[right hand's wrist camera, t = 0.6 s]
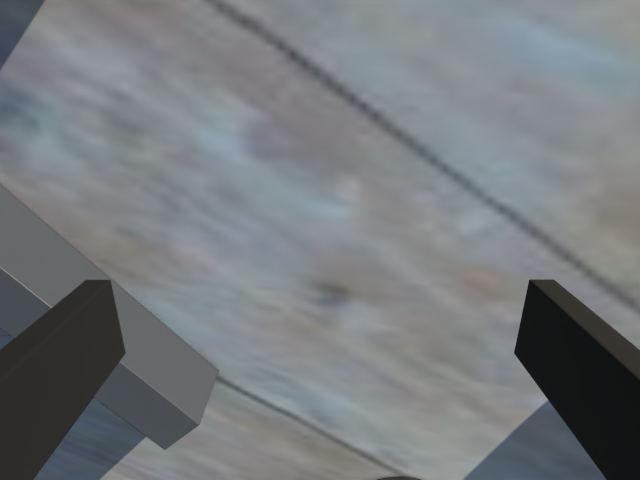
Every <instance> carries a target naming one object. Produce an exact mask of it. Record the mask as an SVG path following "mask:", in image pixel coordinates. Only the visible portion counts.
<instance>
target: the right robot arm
mask: <svg viewBox="0 0 640 480" xmlns="http://www.w3.org/2000/svg"><path fill="white" fill-rule="evenodd" d="M125 353H126V352H125V347H124V342H123V337H122V332H121V328H120V323H119V318H118V313H117V308H116V303H115V299H114V294H113V289H112V284H111V280H85V281H84V282H83V283H82V284H80V285H79V286H78V287H77V288H75V289H74V290H73V291H72V292H71V293H69V294H68V295H67V296H66V297H64V298H63V299H62V300H61V301H60V302H58V303H57V304H56V305H55V306H53V307H52V308H51V309H50V310H49V311H47V312H46V313H45V314H44V315H42V316H41V317H40V318H39V319H38V320H36V321H35V322H34V323H33V324H32V325H30V326H29V327H28V328H27V329H25V330H24V331H23V332H22V333H21V334H19V335H18V336H17V337H16V338H14V339H13V340H12V341H11V342H10V343H8V344H7V345H6V346H5V347H3V348H2V349H1V350H0V480H33V479H34V478H35V476H36V475H37V474H38V472H39V471H40V470H41V468H42V467H43V465H44V464H45V463H46V461H47V460H48V459H49V457H50V456H51V455H52V453H53V452H54V450H55V449H56V448H57V446H58V445H59V444H60V442H61V441H62V440H63V438H64V437H65V435H66V434H67V433H68V431H69V430H70V429H71V427H72V426H73V424H74V423H75V422H76V420H77V419H78V418H79V416H80V415H81V414H82V412H83V411H84V409H85V408H86V407H87V405H88V404H89V403H90V401H91V400H92V399H93V397H94V396H95V394H96V393H97V392H98V390H99V389H100V388H101V386H102V385H103V384H104V382H105V381H106V379H107V378H108V377H109V375H110V374H111V373H112V371H113V370H114V369H115V367H116V366H117V364H118V363H119V362H120V360H121V359H122V358H123V356H124V355H125ZM514 353H515V355H516V356H517V358H518V359H519V360H520V362H521V363H522V364H523V366H524V367H525V369H526V370H527V371H528V373H529V374H530V375H531V377H532V378H533V379H534V381H535V382H536V384H537V385H538V386H539V388H540V389H541V390H542V392H543V393H544V394H545V396H546V397H547V399H548V400H549V401H550V403H551V404H552V405H553V407H554V408H555V409H556V411H557V412H558V414H559V415H560V416H561V418H562V419H563V420H564V422H565V423H566V424H567V426H568V427H569V429H570V430H571V431H572V433H573V434H574V435H575V437H576V438H577V440H578V441H579V442H580V444H581V445H582V446H583V448H584V449H585V450H586V452H587V453H588V455H589V456H590V457H591V459H592V460H593V461H594V463H595V464H596V465H597V467H598V468H599V470H600V471H601V472H602V474H603V475H604V476H605V478H606V479H607V480H640V350H639V349H638V348H637V347H635V346H634V345H633V344H632V343H630V342H629V341H628V340H627V339H626V338H624V337H623V336H622V335H621V334H619V333H618V332H617V331H616V330H615V329H613V328H612V327H611V326H610V325H608V324H607V323H606V322H605V321H604V320H602V319H601V318H600V317H599V316H597V315H596V314H595V313H594V312H593V311H591V310H590V309H589V308H588V307H587V306H585V305H584V304H583V303H582V302H580V301H579V300H578V299H577V298H576V297H574V296H573V295H572V294H571V293H569V292H568V291H567V290H566V289H565V288H563V287H562V286H561V285H560V284H558V283H557V282H556V281H555V280H529V284H528V289H527V294H526V299H525V303H524V308H523V313H522V318H521V323H520V328H519V332H518V337H517V342H516V347H515V352H514ZM378 480H420V479H416V478H410V477H388V478H382V479H378Z"/></svg>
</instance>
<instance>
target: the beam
mask: <svg viewBox="0 0 640 480" xmlns="http://www.w3.org/2000/svg"><path fill="white" fill-rule="evenodd" d="M85 280H111V284H112V289H113V294H114V299H115V303H116V308H117V313H118V318H119V323H120V328H121V332H122V337H123V342H124V347H125V352H126V353H125V355H124V356H123V358H122V359H121V360H120V362H119V363H118V364H117V366H116V367H115V369H114V370H113V371H112V373H111V374H110V375H109V377H108V378H107V379H106V381H105V382H104V384H103V385H102V386H101V388H100V389H99V390H98V392H97V393H96V394H95V396H94V398H95V399H97V400H98V401H99V402H101V403H102V404H103V405H105V406H106V407H107V408H109V409H110V410H111V411H113V412H114V413H115V414H117V415H118V416H120V417H121V418H122V419H124V420H125V421H126V422H128V423H129V424H130V425H132V426H133V427H134V428H136V429H137V430H138V431H140V432H141V433H142V434H144V435H145V436H146V437H148V438H149V439H151V440H152V441H153V442H155V443H156V444H157V445H159V446H160V447H161V448H163V449H164V450H165V449H167V448H168V447H170V446H171V445H172V444H174V443H175V442H176V441H178V440H179V439H181V438H182V437H183V436H185V435H186V434H187V433H189V432H190V431H191V430H193V429H194V428H196V427H197V426H198V425H199V424H200V422H201V419H202V416H203V413H204V411H205V408H206V405H207V402H208V399H209V397H210V394H211V391H212V388H213V385H214V383H215V380H216V377H217V374H218V370H217V369H216V368H215V367H214V366H213V365H212V364H210V363H209V362H208V361H207V360H206V359H205V358H203V357H202V356H201V355H200V354H199V353H198V352H196V351H195V350H194V349H193V348H192V347H191V346H189V345H188V344H187V343H186V342H185V341H184V340H182V339H181V338H180V337H179V336H178V335H176V334H175V333H174V332H173V331H172V330H171V329H169V328H168V327H167V326H166V325H165V324H164V323H162V322H161V321H160V320H159V319H158V318H157V317H155V316H154V315H153V314H152V313H151V312H150V311H148V310H147V309H146V308H145V307H144V306H143V305H141V304H140V303H139V302H138V301H137V300H136V299H134V298H133V297H132V296H131V295H130V294H128V293H127V292H126V291H125V290H124V289H123V288H121V287H120V286H119V285H118V284H117V283H116V282H114V281H113V280H112V279H111V278H110V277H109V276H107V275H106V274H105V273H104V272H103V271H102V270H100V269H99V268H98V267H97V266H96V265H95V264H93V263H92V262H91V261H90V260H89V259H88V258H86V257H85V256H84V255H83V254H82V253H80V252H79V251H78V250H77V249H76V248H75V247H73V246H72V245H71V244H70V243H69V242H68V241H66V240H65V239H64V238H63V237H62V236H61V235H59V234H58V233H57V232H56V231H55V230H54V229H52V228H51V227H50V226H49V225H48V224H47V223H45V222H44V221H43V220H42V219H41V218H40V217H38V216H37V215H36V214H35V213H34V212H32V211H31V210H30V209H29V208H28V207H27V206H25V205H24V204H23V203H22V202H21V201H20V200H18V199H17V198H16V197H15V196H14V195H13V194H11V193H10V192H9V191H8V190H7V189H6V188H4V187H3V186H2V185H1V184H0V328H1V329H2V330H3V331H5V332H6V333H8V334H9V335H10V336H12V337H13V338H16V337H17V336H18V335H19V334H21V333H22V332H23V331H24V330H25V329H27V328H28V327H29V326H30V325H32V324H33V323H34V322H35V321H36V320H38V319H39V318H40V317H41V316H42V315H44V314H45V313H46V312H47V311H49V310H50V309H51V308H52V307H53V306H55V305H56V304H57V303H58V302H60V301H61V300H62V299H63V298H64V297H66V296H67V295H68V294H69V293H71V292H72V291H73V290H74V289H75V288H77V287H78V286H79V285H80V284H82V283H83V282H84V281H85Z"/></svg>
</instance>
